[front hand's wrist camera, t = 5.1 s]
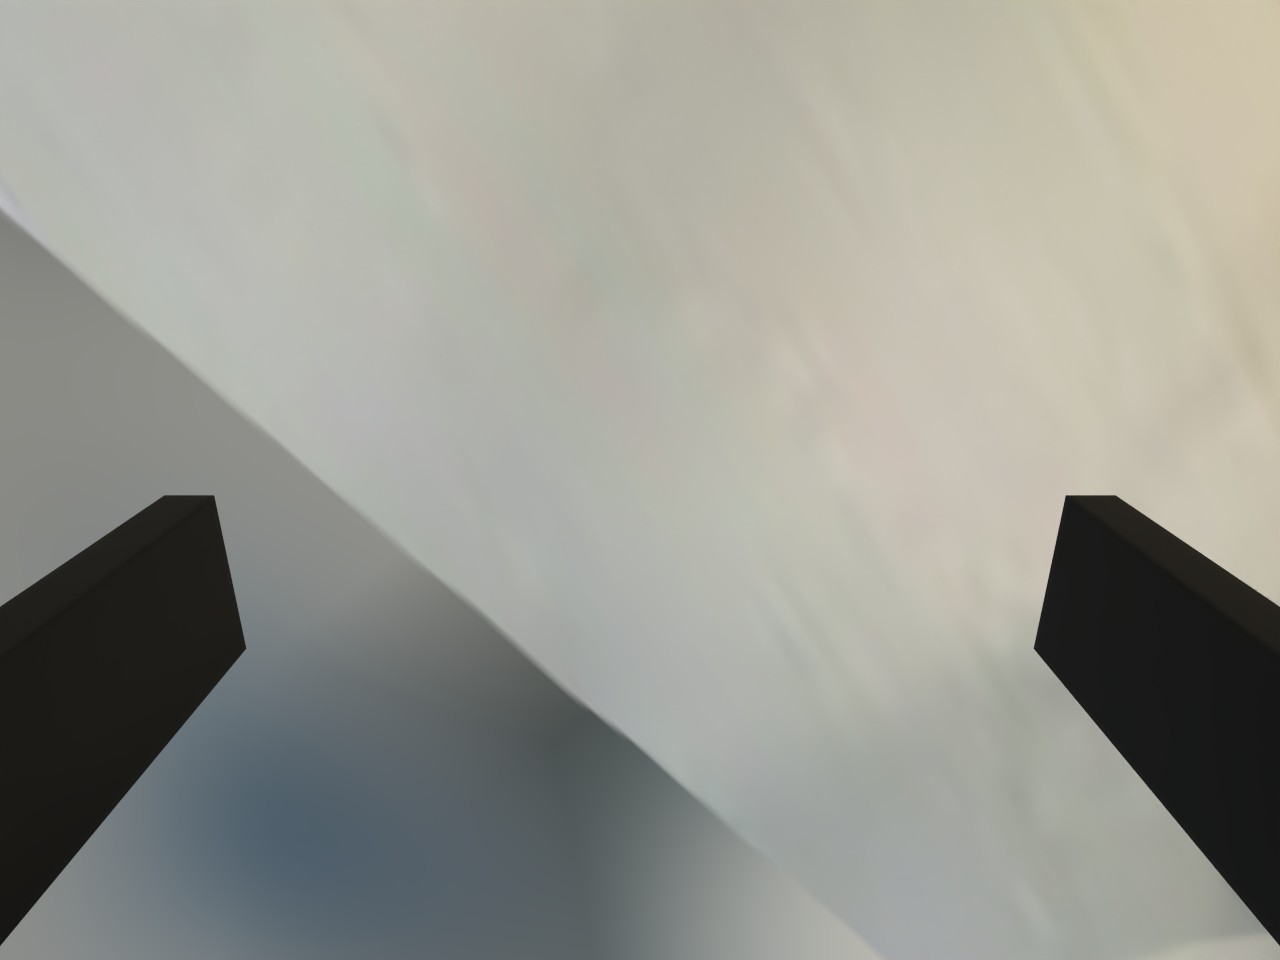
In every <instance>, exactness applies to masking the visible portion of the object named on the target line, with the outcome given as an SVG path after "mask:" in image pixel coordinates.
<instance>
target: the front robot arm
mask: <svg viewBox="0 0 1280 960" xmlns="http://www.w3.org/2000/svg"><path fill="white" fill-rule="evenodd" d="M245 649H246V646H245V641H244V636H243V631H242V626H241V622H240V617H239V612H238V607H237V602H236V598H235V593H234V588H233V583H232V579H231V574H230V569H229V564H228V560H227V555H226V550H225V545H224V541H223V536H222V531H221V526H220V521H219V517H218V512H217V507H216V502H215V497H214V496H213V495H211V496H210V495H209V496H207V495H205V496H204V495H202V496H199V495H197V496H194V495H192V496H191V495H190V496H187V495H186V496H183V495H182V496H181V495H173V496H172V495H171V496H170V495H168V496H167V495H165V496H163V497H161V498H160V499H158V500H157V501H156V502H154V503H153V504H151V505H150V506H148V507H147V508H145V509H144V510H142V511H141V512H139V513H138V514H136V515H135V516H133V517H132V518H130V519H129V520H128V521H126V522H125V523H123V524H122V525H120V526H119V527H117V528H116V529H114V530H113V531H111V532H110V533H108V534H107V535H105V536H104V537H102V538H101V539H100V540H98V541H97V542H95V543H94V544H92V545H91V546H89V547H88V548H86V549H85V550H83V551H82V552H80V553H79V554H77V555H76V556H75V557H73V558H72V559H70V560H69V561H67V562H66V563H64V564H63V565H61V566H60V567H58V568H57V569H55V570H54V571H52V572H51V573H49V574H48V575H46V576H45V577H44V578H42V579H41V580H39V581H38V582H36V583H35V584H33V585H32V586H30V587H29V588H27V589H26V590H24V591H23V592H21V593H20V594H19V595H17V596H15V597H14V598H13V599H11V600H10V601H8V602H7V603H5V604H4V605H2V606H1V607H0V945H1V944H2V943H3V942H4V941H5V939H6V938H7V937H8V936H9V934H10V933H11V932H12V931H13V930H14V928H15V927H16V926H17V925H18V924H19V922H20V921H21V920H22V919H23V918H24V916H25V915H26V914H27V913H28V912H29V910H30V909H31V908H32V907H33V905H34V904H35V903H36V902H37V901H38V900H39V898H40V897H41V896H42V895H43V893H44V892H45V891H46V890H47V889H48V887H49V886H50V885H51V884H52V883H53V881H54V880H55V879H56V878H57V876H58V875H59V874H60V873H61V872H62V871H63V869H64V868H65V867H66V866H67V864H68V863H69V862H70V861H71V860H72V858H73V857H74V856H75V855H76V854H77V852H78V851H79V850H80V849H81V848H82V846H83V845H84V844H85V843H86V842H87V840H88V839H89V838H90V837H91V835H92V834H93V833H94V832H95V831H96V829H97V828H98V827H99V826H100V825H101V823H102V822H103V821H104V820H105V819H106V817H107V816H108V815H109V814H110V813H111V811H112V810H113V809H114V808H115V806H116V805H117V804H118V803H119V802H120V800H121V799H122V798H123V797H124V796H125V794H126V793H127V792H128V791H129V790H130V788H131V787H132V786H133V785H134V783H135V782H136V781H137V780H138V779H139V777H140V776H141V775H142V774H143V773H144V771H145V770H146V769H147V768H148V767H149V765H150V764H151V763H152V762H153V760H154V759H155V758H156V757H157V756H158V755H159V753H160V752H161V751H162V750H163V748H164V747H165V746H166V745H167V744H168V742H169V741H170V740H171V739H172V738H173V736H174V735H175V734H176V733H177V732H178V730H179V729H180V728H181V727H182V726H183V724H184V723H185V722H186V721H187V719H188V718H189V717H190V716H191V715H192V713H193V712H194V711H195V710H196V709H197V707H198V706H199V705H200V704H201V703H202V701H203V700H204V699H205V698H206V696H207V695H208V694H209V693H210V692H211V691H212V689H213V688H214V687H215V686H216V684H217V683H218V682H219V681H220V680H221V678H222V677H223V676H224V675H225V674H226V672H227V671H228V670H229V669H230V667H231V666H232V665H233V664H234V663H235V662H236V660H237V659H238V658H239V657H240V655H241V654H242V653H243V652H244V651H245ZM1034 649H1035V651H1036V652H1037V653H1038V654H1039V655H1040V657H1041V658H1042V659H1043V660H1044V662H1045V663H1046V664H1047V665H1048V666H1049V668H1050V669H1051V670H1052V671H1053V672H1054V674H1055V675H1056V676H1057V677H1058V678H1059V680H1060V681H1061V682H1062V683H1063V684H1064V686H1065V687H1066V688H1067V689H1068V691H1069V692H1070V693H1071V694H1072V695H1073V697H1074V698H1075V699H1076V700H1077V701H1078V703H1079V704H1080V705H1081V706H1082V707H1083V709H1084V710H1085V711H1086V712H1087V713H1088V715H1089V716H1090V717H1091V718H1092V720H1093V721H1094V722H1095V723H1096V724H1097V726H1098V727H1099V728H1100V729H1101V730H1102V732H1103V733H1104V734H1105V735H1106V736H1107V738H1108V739H1109V740H1110V741H1111V742H1112V744H1113V745H1114V746H1115V747H1116V748H1117V750H1118V751H1119V752H1120V753H1121V755H1122V756H1123V757H1124V758H1125V759H1126V761H1127V762H1128V763H1129V764H1130V765H1131V767H1132V768H1133V769H1134V770H1135V771H1136V773H1137V774H1138V775H1139V776H1140V777H1141V779H1142V780H1143V781H1144V782H1145V784H1146V785H1147V786H1148V787H1149V788H1150V790H1151V791H1152V792H1153V793H1154V794H1155V796H1156V797H1157V798H1158V799H1159V800H1160V802H1161V803H1162V804H1163V805H1164V806H1165V808H1166V809H1167V810H1168V811H1169V813H1170V814H1171V815H1172V816H1173V817H1174V819H1175V820H1176V821H1177V822H1178V823H1179V825H1180V826H1181V827H1182V828H1183V829H1184V831H1185V832H1186V833H1187V834H1188V835H1189V837H1190V838H1191V839H1192V840H1193V842H1194V843H1195V844H1196V845H1197V846H1198V848H1199V849H1200V850H1201V851H1202V852H1203V854H1204V855H1205V856H1206V857H1207V858H1208V860H1209V861H1210V862H1211V863H1212V864H1213V866H1214V867H1215V868H1216V869H1217V871H1218V872H1219V873H1220V874H1221V875H1222V877H1223V878H1224V879H1225V880H1226V881H1227V883H1228V884H1229V885H1230V886H1231V887H1232V889H1233V890H1234V891H1235V892H1236V893H1237V895H1238V896H1239V897H1240V898H1241V900H1242V901H1243V902H1244V903H1245V904H1246V906H1247V907H1248V908H1249V909H1250V910H1251V912H1252V913H1253V914H1254V915H1255V916H1256V918H1257V919H1258V920H1259V921H1260V922H1261V924H1262V925H1263V926H1264V927H1265V928H1266V930H1267V931H1268V932H1269V933H1270V935H1271V936H1272V937H1273V938H1274V939H1275V941H1276V942H1277V943H1278V944H1279V945H1280V607H1279V606H1278V605H1276V604H1275V603H1273V602H1272V601H1270V600H1269V599H1267V598H1266V597H1265V596H1263V595H1262V594H1260V593H1259V592H1257V591H1256V590H1254V589H1253V588H1251V587H1250V586H1248V585H1247V584H1245V583H1244V582H1242V581H1241V580H1239V579H1238V578H1236V577H1235V576H1234V575H1232V574H1231V573H1229V572H1228V571H1226V570H1225V569H1223V568H1222V567H1220V566H1219V565H1217V564H1216V563H1214V562H1213V561H1211V560H1210V559H1208V558H1207V557H1206V556H1204V555H1203V554H1201V553H1200V552H1198V551H1197V550H1195V549H1194V548H1192V547H1191V546H1189V545H1188V544H1186V543H1185V542H1183V541H1182V540H1180V539H1179V538H1178V537H1176V536H1175V535H1173V534H1172V533H1170V532H1169V531H1167V530H1166V529H1164V528H1163V527H1161V526H1160V525H1158V524H1157V523H1155V522H1154V521H1152V520H1151V519H1150V518H1148V517H1147V516H1145V515H1144V514H1142V513H1141V512H1139V511H1138V510H1136V509H1135V508H1133V507H1132V506H1130V505H1129V504H1127V503H1126V502H1124V501H1123V500H1122V499H1120V498H1119V497H1117V496H1116V495H1066V497H1065V502H1064V507H1063V512H1062V517H1061V521H1060V526H1059V531H1058V536H1057V540H1056V545H1055V550H1054V555H1053V559H1052V564H1051V569H1050V574H1049V579H1048V583H1047V588H1046V593H1045V598H1044V602H1043V607H1042V612H1041V617H1040V622H1039V626H1038V631H1037V636H1036V641H1035V645H1034Z"/></svg>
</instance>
